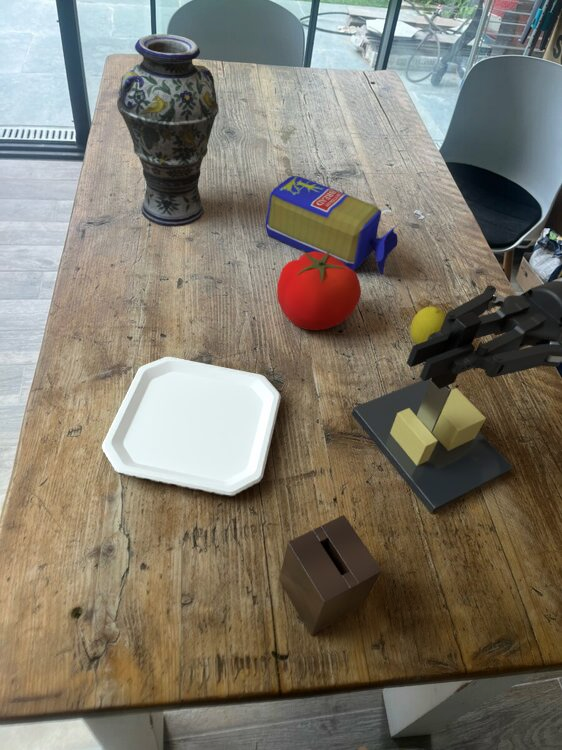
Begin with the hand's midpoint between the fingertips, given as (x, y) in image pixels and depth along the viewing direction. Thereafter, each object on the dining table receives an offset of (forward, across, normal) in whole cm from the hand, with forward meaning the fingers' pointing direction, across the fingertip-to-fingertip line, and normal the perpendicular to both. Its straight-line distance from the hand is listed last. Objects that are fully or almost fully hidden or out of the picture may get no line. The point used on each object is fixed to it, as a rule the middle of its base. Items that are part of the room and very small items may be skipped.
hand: (418, 363), depth 63 cm
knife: (-6, 0, -15) cm, 16 cm away
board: (-9, 0, -20) cm, 22 cm away
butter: (-12, 0, -18) cm, 22 cm away
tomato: (-8, +29, -20) cm, 36 cm away
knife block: (+16, -11, -20) cm, 28 cm away
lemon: (-21, +16, -20) cm, 33 cm away
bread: (-21, +45, -20) cm, 53 cm away
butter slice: (-5, 0, -18) cm, 19 cm away
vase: (+1, +68, -20) cm, 71 cm away
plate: (+19, +16, -20) cm, 32 cm away
